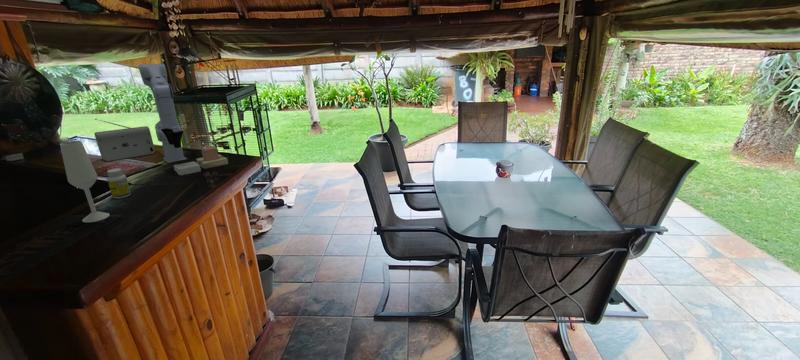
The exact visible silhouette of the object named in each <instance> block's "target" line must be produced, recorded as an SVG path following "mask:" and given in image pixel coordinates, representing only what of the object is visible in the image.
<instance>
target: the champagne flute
mask: <svg viewBox="0 0 800 360" xmlns="http://www.w3.org/2000/svg"><path fill="white" fill-rule="evenodd" d="M59 145H60V152H61V156H62V160H63V165H64V170H65V174H66V179H67V182H68V183H69V184H70V185H72V186H74V187H76V188H77V189H81V190H83V191H84V194H85V196H86V199H87V202H88V205H89V208H90V211H91V212H90V213H89V214H87V216H85V217H84V218H82V220H81V222H83V223H95V222H99V221H102V220H105V219H107V218H108V217H110V213H109V212H103V211H97V209H96V206H95V202H94V200H93V197H92V194H91V190H90V188H92V187H93V185H94V184H95V183H96V181H97V179H98V174H97V172H96V170H95V167H94V165H93V163H92V161H91V159H90V156H89V155H88V152H87V151H86V148H85V146H84V143H83V142H82V140H70V141H63V142H61V143H59Z"/></svg>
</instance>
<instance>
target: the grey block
mask: <svg viewBox="0 0 800 360" xmlns="http://www.w3.org/2000/svg"><path fill="white" fill-rule="evenodd" d="M173 169H174V172H175V171H176V172H177V173H176V172H175V173H176V174H178V176H180V175H181V176H184V175H185V174H186V175H189V174H195V173H200V172H202V170H201V169H202V167H201V166H200V165H199V164H197V161H189V162H188V161H187V162H184V163H179V164H178V163H177V164H174V165H173Z"/></svg>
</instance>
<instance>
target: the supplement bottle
mask: <svg viewBox="0 0 800 360" xmlns="http://www.w3.org/2000/svg"><path fill="white" fill-rule="evenodd" d="M107 176H108V177H107V178H106V182H107V185H108V186H109V190H110V193H111V196H112V198H114V199H116V200H117V199H124V198H127V197H129V196H131V195H132V191H131V189H130V185H129V181H128V178H127V176H126V175H125V174H124V173H123V170H122V168H119V167H118V168H111V169H108V170H107Z"/></svg>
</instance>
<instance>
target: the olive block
mask: <svg viewBox="0 0 800 360" xmlns="http://www.w3.org/2000/svg"><path fill="white" fill-rule="evenodd" d="M218 157H219V159H215V160H211V161H206V160H204V159H203V156H202V157H198V158H195V160H196V161H195V162H196V163H197V164H199V165H200V168H203V169H210V168H215V167H221V166H225V165H229V160H228V158H227V157H225V156H223V155H221V154H219V153H218Z"/></svg>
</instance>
